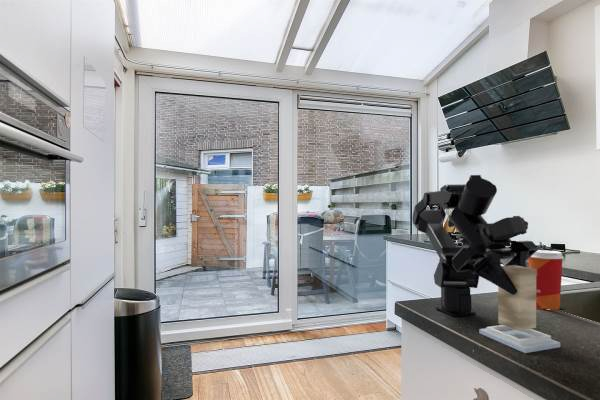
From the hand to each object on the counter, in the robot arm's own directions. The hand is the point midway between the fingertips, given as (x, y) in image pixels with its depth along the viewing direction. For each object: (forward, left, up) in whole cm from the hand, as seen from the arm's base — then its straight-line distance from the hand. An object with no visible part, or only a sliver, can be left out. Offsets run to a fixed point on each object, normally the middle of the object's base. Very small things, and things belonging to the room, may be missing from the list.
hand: (524, 292), depth 66 cm
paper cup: (-15, +25, -10) cm, 31 cm away
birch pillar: (-1, 0, -7) cm, 7 cm away
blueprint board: (-1, 0, -9) cm, 9 cm away
